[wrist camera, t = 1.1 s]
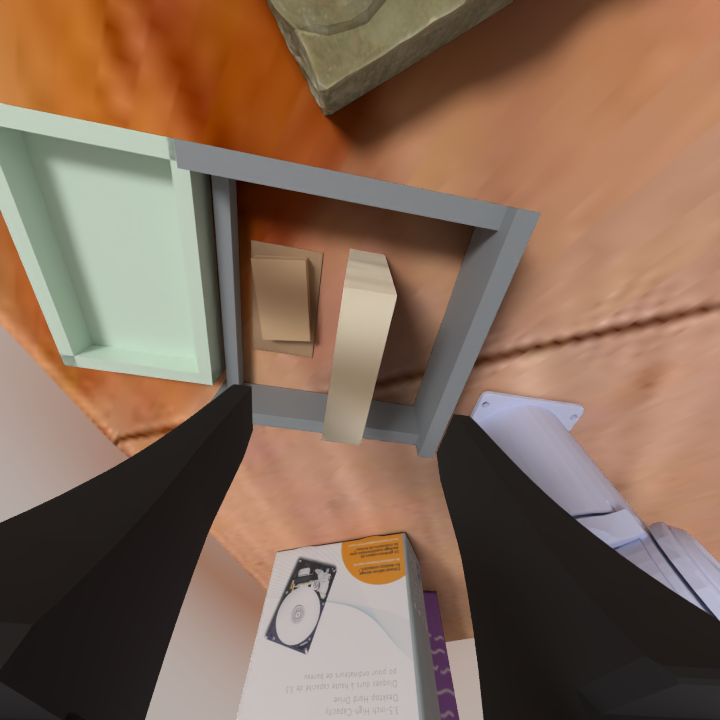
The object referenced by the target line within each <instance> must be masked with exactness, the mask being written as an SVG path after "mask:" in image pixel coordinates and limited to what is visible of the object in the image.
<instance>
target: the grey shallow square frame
mask: <svg viewBox="0 0 720 720" xmlns="http://www.w3.org/2000/svg"><path fill="white" fill-rule="evenodd" d="M174 144H175V152H176V160H177V168H180V169H185V170H190V171H195V172H200V173H205V174H210V175H211V179H212V192H213V205H214V218H215V232H216V245H217V258H218V271H219V285H220V298H221V311H222V324H223V337H224V351H225V364H226V377H227V380H225V382H224V383H223V385H222V386H221V388H220V389H219V390H218V392H217V393H216V395H215V396H214V398H213V399H212V400H214V399H215V398H216V397H217V396H219V395H220V394H221V393H222V392H224V391H225V390H226V389H228V388H229V387H230V386H232V385H233V384H237V385H244V386H252V418H253V424H255V425H263V426H271V427H279V428H286V429H294V430H302V431H310V432H318V433H322V432H323V425H324V418H325V411H326V405H327V398H328V394H324V393H317V392H310V391H302V390H295V389H288V388H281V387H274V386H266V385H259V384H252V383H245V382H244V371H243V345H242V319H241V293H240V267H239V242H238V216H237V190H236V180H241V181H246V182H251V183H256V184H262V185H267V186H272V187H277V188H282V189H287V190H292V191H297V192H303V193H308V194H313V195H318V196H323V197H328V198H333V199H338V200H344V201H349V202H354V203H359V204H364V205H369V206H374V207H379V208H385V209H390V210H395V211H400V212H405V213H410V214H415V215H420V216H426V217H431V218H436V219H441V220H446V221H451V222H456V223H461V224H467V225H472V226H475V228H474V231H473V234H472V237H471V240H470V242H469V245H468V248H467V251H466V254H465V257H464V260H463V263H462V266H461V269H460V271H459V274H458V277H457V280H456V283H455V286H454V289H453V292H452V295H451V298H450V300H449V303H448V306H447V309H446V312H445V315H444V318H443V321H442V324H441V327H440V329H439V332H438V335H437V338H436V341H435V344H434V347H433V350H432V353H431V356H430V358H429V361H428V364H427V367H426V370H425V373H424V376H423V379H422V382H421V385H420V387H419V390H418V393H417V396H416V399H415V402H414V405H413V406H411V405H404V404H396V403H389V402H382V401H375V400H371V404H370V408H369V412H368V416H367V420H366V424H365V428H364V432H363V437H362V438H365V439H373V440H381V441H389V442H397V443H404V444H412V445H416V449H417V453H418V456H419V457H427V458H433V456H434V454H435V452H436V449H437V447H438V445H439V443H440V440H441V438H442V436H443V433H444V431H445V429H446V427H447V424H448V422H449V420H450V418H451V415H452V413H453V411H454V409H455V406H456V404H457V402H458V400H459V397H460V395H461V393H462V390H463V388H464V386H465V384H466V381H467V379H468V377H469V375H470V372H471V370H472V368H473V366H474V363H475V361H476V359H477V357H478V354H479V352H480V350H481V348H482V345H483V343H484V341H485V338H486V336H487V334H488V332H489V329H490V327H491V325H492V323H493V320H494V318H495V316H496V314H497V311H498V309H499V307H500V305H501V302H502V300H503V298H504V295H505V293H506V291H507V289H508V286H509V284H510V282H511V280H512V277H513V275H514V273H515V271H516V268H517V266H518V264H519V262H520V259H521V257H522V255H523V252H524V250H525V248H526V246H527V243H528V241H529V239H530V237H531V234H532V232H533V230H534V228H535V225H536V223H537V221H538V219H539V216H540V214H541V213H539V212H534V211H529V210H524V209H520V208H514V207H509V206H504V205H499V204H494V203H489V202H484V201H479V200H474V199H470V198H465V197H460V196H455V195H450V194H445V193H440V192H435V191H430V190H425V189H420V188H415V187H411V186H406V185H401V184H396V183H391V182H386V181H381V180H376V179H371V178H366V177H361V176H356V175H351V174H347V173H342V172H337V171H332V170H327V169H322V168H317V167H312V166H307V165H302V164H297V163H292V162H287V161H283V160H278V159H273V158H268V157H263V156H258V155H253V154H248V153H243V152H238V151H233V150H228V149H223V148H219V147H214V146H209V145H204V144H199V143H194V142H189V141H184V140H179V139H174Z"/></svg>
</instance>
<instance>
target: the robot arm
mask: <svg viewBox="0 0 720 720" xmlns="http://www.w3.org/2000/svg"><path fill="white" fill-rule="evenodd" d="M484 402H487V403H485V404H483V403H484ZM583 412H584V409H583V407H582V406H581V405H579V404H573V403H567V402H560V401H553V400H546V399H539V398H532V397H526V396H519V395H512V394H505V393H498V392H491V391H486V392H483V393H482V394H481V395H480V397H479V399H478V401H477V403H476V405H475V407H474V409H473V411H472V413H471V415H470V416H464V415H456V414H454V415H453V418H452V420H451V422H450V424H449V426H448V429H447V431H446V433H445V435H444V438H443V440H442V442H441V444H440V447H439V449H438V451H437V459H438V467H439V473H440V480H441V484H442V488H443V491H444V495H445V499H446V502H447V506H448V510H449V513H450V517H451V520H452V524H453V528H454V531H455V535H456V538H457V542H458V546H459V550H460V554H461V559H462V564H463V570H464V575H465V581H466V587H467V592H468V599H469V605H470V612H471V618H472V624H473V632H474V639H475V647H476V655H477V662H478V669H479V679H480V689H481V699H482V708H483V718H484V720H720V563H719V562H718V561H717V560H716V559H715V558H714V557H713V556H712V555H711V554H710V553H709V552H708V551H707V550H706V549H705V548H704V547H703V546H702V545H701V544H700V543H699V542H698V541H697V540H696V539H694V538H693V537H692V536H691V535H690V534H689V533H688V532H686V531H685V530H683V529H679V528H676V527H673V526H668V525H667V524H666V523H664V522H657V523H654V524H652V525H650V526H648V525H647V524H646V523H644V522H643V521H642V520H641V519H640V518H639V517H638V515H637V514H636V513H635V512H634V510H633V509H632V508H631V507H630V506H629V504H628V503H627V502H626V501H625V499H624V498H623V497H622V496H621V495H620V493H619V492H618V491H617V490H616V488H615V487H614V486H613V485H612V484H611V482H610V481H609V480H608V479H607V477H606V476H605V475H604V474H603V473H602V471H601V470H600V469H599V468H598V466H597V465H596V464H595V463H594V462H593V460H592V459H591V458H590V457H589V456H588V454H587V453H586V452H585V451H584V449H583V448H582V447H581V446H580V445H579V443H578V442H577V441H576V440H575V438H574V437H573V436H572V435H571V434H570V432H569V431H570V430H571V428H572V427H573V426H574V424H575V423H576V422H577V420H578V419H579V417H580V416H581V415H582V413H583ZM252 431H253V418H252V386H244V385H237V384H233V385H232V386H230V387H229V388H228V389H226V390H225V391H224V392H222V393H221V394H220V395H219V396H217V397H216V398H215V399H214V400H212V401H211V402H210V403H208V404H207V405H206V406H205V407H203V408H202V409H201V410H199V411H198V412H197V413H195V414H194V415H193V416H191V417H190V418H189V419H187V420H186V421H185V422H183V423H182V424H181V425H179V426H178V427H176V428H175V429H173V430H172V431H170V432H169V433H168V434H166V435H165V436H163V437H162V438H160V439H159V440H157V441H156V442H154V443H153V444H151V445H150V446H148V447H147V448H145V449H143V450H142V451H140V452H139V453H137V454H135V455H134V456H132V457H130V458H129V459H127V460H125V461H124V462H122V463H120V464H119V465H117V466H115V467H113V468H111V469H110V470H108V471H106V472H104V473H102V474H100V475H98V476H96V477H95V478H93V479H91V480H89V481H87V482H85V483H83V484H81V485H79V486H77V487H75V488H73V489H71V490H70V491H68V492H66V493H64V494H62V495H60V496H58V497H55V498H54V499H51V500H49V501H47V502H45V503H43V504H41V505H39V506H36V507H34V508H32V509H30V510H28V511H26V512H23V513H21V514H19V515H17V516H14V517H12V518H10V519H8V520H6V521H3V522H1V523H0V720H145V718H146V714H147V711H148V708H149V705H150V701H151V698H152V695H153V692H154V689H155V685H156V682H157V679H158V676H159V673H160V670H161V667H162V664H163V660H164V657H165V654H166V651H167V648H168V645H169V642H170V639H171V636H172V633H173V630H174V627H175V624H176V621H177V618H178V615H179V612H180V609H181V606H182V603H183V601H184V598H185V595H186V592H187V589H188V587H189V584H190V581H191V578H192V575H193V572H194V570H195V567H196V564H197V561H198V559H199V556H200V553H201V551H202V548H203V545H204V543H205V540H206V537H207V535H208V532H209V530H210V528H211V525H212V523H213V521H214V518H215V516H216V514H217V512H218V510H219V508H220V506H221V504H222V502H223V500H224V498H225V495H226V493H227V491H228V489H229V487H230V485H231V483H232V481H233V479H234V477H235V474H236V472H237V470H238V468H239V466H240V464H241V462H242V459H243V457H244V455H245V452H246V449H247V446H248V443H249V440H250V437H251V434H252Z"/></svg>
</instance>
